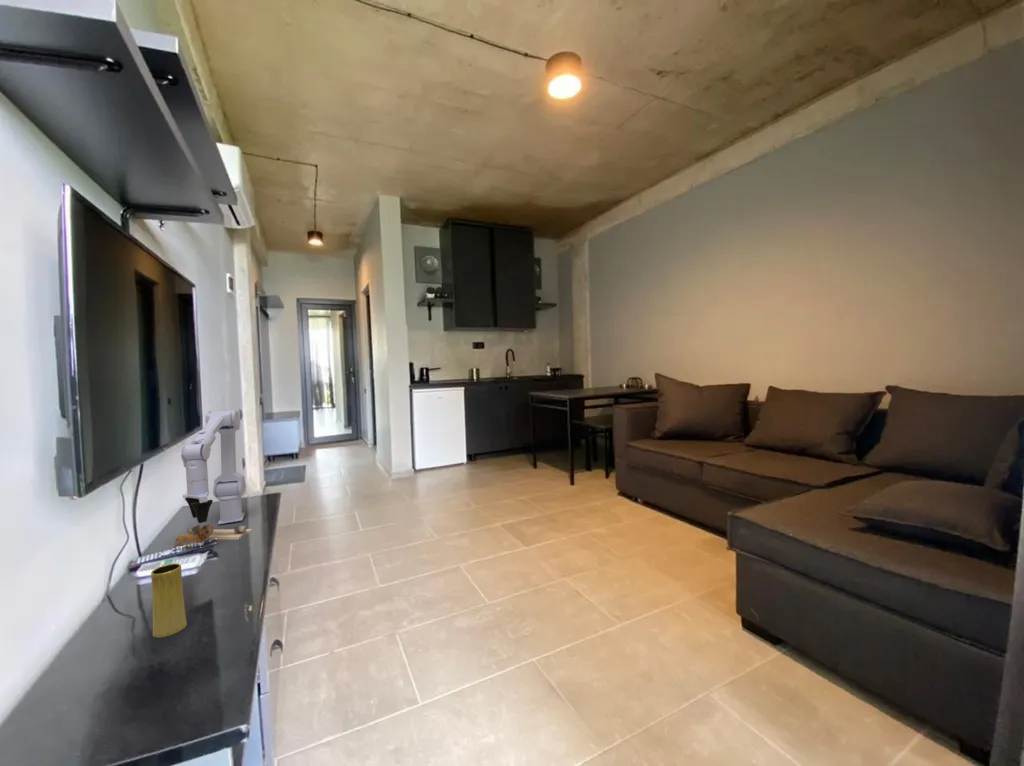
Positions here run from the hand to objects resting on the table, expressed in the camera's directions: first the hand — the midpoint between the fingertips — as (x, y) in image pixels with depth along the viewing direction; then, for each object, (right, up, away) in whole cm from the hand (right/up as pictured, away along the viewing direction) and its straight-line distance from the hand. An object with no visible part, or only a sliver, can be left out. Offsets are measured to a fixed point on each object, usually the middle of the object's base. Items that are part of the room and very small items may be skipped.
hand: (199, 519), depth 140 cm
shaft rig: (-2, -9, +11) cm, 14 cm away
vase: (+27, -11, -45) cm, 53 cm away
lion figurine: (-2, -10, 0) cm, 10 cm away
